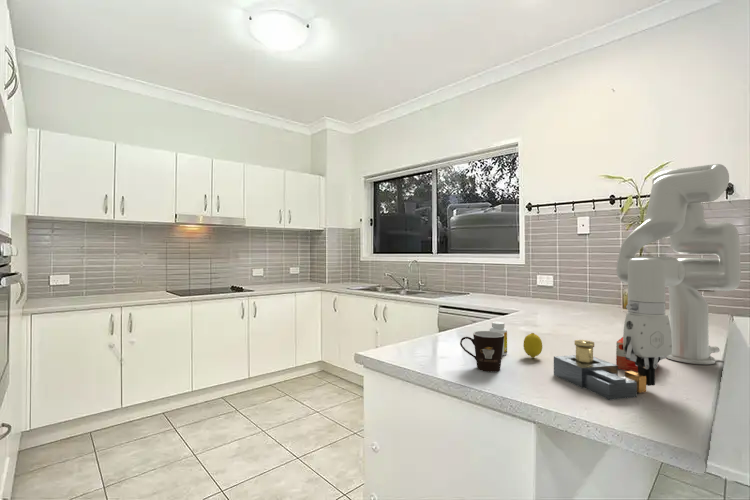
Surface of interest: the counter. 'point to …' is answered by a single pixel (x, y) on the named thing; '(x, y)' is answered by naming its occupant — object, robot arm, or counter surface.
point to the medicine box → (624, 358)
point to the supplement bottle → (501, 329)
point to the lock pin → (636, 380)
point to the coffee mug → (487, 350)
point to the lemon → (532, 345)
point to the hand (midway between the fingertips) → (646, 383)
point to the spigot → (584, 351)
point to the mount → (595, 377)
